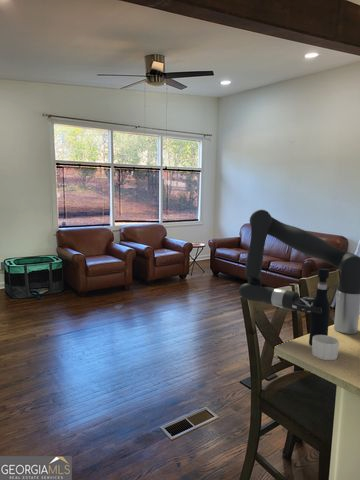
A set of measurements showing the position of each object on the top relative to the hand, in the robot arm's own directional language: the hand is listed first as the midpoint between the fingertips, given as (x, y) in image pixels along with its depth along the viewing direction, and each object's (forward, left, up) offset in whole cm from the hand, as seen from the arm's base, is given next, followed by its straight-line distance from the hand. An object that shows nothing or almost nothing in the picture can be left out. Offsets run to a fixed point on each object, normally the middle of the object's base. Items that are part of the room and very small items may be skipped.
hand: (325, 308), depth 130 cm
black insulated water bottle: (0, -2, -15) cm, 15 cm away
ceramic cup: (+7, +3, -15) cm, 17 cm away
